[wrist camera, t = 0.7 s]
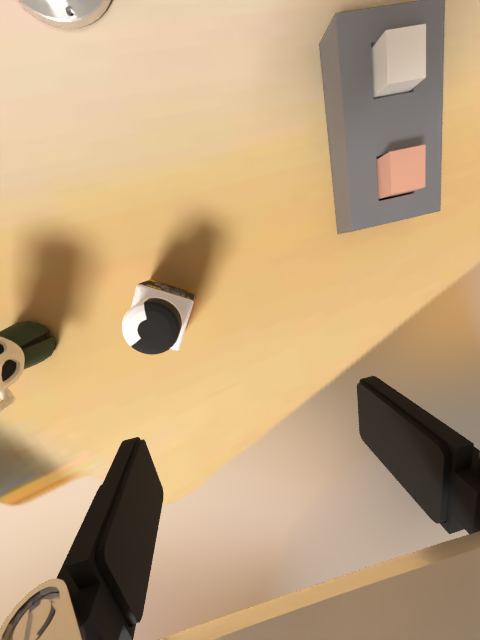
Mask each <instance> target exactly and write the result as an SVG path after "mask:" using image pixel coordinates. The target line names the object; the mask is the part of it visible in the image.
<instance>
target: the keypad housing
mask: <svg viewBox="0 0 480 640" xmlns="http://www.w3.org/2000/svg"><path fill="white" fill-rule="evenodd" d="M444 15H445V0H420V1H413V2H407V3H400V4H393V5H387V6H380V7H373V8H367V9H360V10H354V11H347V12H340V13H335V15H334V17H333V19H332V21H331V23H330V25H329V27H328V29H327V30H326V32H325V34H324V36H323V38H322V40H321V42H320V44H319V47H320V57H321V68H322V78H323V88H324V99H325V109H326V119H327V130H328V140H329V150H330V161H331V171H332V182H333V192H334V202H335V213H336V223H337V233H338V234H341V233H347V232H352V231H356V230H361V229H365V228H369V227H373V226H378V225H382V224H386V223H391V222H395V221H399V220H403V219H408V218H412V217H416V216H420V215H425V214H429V213H433V212H438V211H440V205H441V158H442V110H443V62H444ZM421 24H426V78H425V79H423V80H422V81H421V82H420V83H418V84H417V85H416V86H415V87H414V88H412V89H411V90H410V91H409V92H408V93H404V94H398V95H393V96H387V97H382V98H377V99H374V95H373V74H372V53H371V48H372V47H373V46H374V45H375V43H376V42H377V41H378V39H379V38H380V37H381V36H382V34H383V33H384V32H385V31H386V30H390V29H396V28H402V27H408V26H415V25H421ZM425 144H426V158H425V187H424V188H421V189H418V190H415V191H412V192H409V193H405V194H401V195H396V196H393V198H391V199H386V200H382V201H379V199H378V178H377V159H378V158H380V157H382V156H383V155H385V154H387V153H389V152H391V151H396V150H401V149H406V148H410V147H415V146H420V145H425Z"/></svg>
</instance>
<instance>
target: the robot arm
mask: <svg viewBox="0 0 480 640" xmlns="http://www.w3.org/2000/svg"><path fill="white" fill-rule="evenodd" d="M16 1H17V2H18V3H19V4H20V5H21V6H22V7H23V8H24V9H26V10H27V11H28V12H29V13H31V14H32V15H33V16H35V17H36V18H38V19H40V20H42V21H43V22H45V23H48V24H50V25H53V26H56V27H61V28H67V29H72V28H81V27H84V26H87V25H90V24H91V23H93V22H94V21H96V20H97V19H99V18H100V16H101V15H102V14H103V13H104V12H105V11H106V9H107V7H108V5H109V4H110V2H111V0H16ZM357 396H358V413H359V431H360V436H361V438H362V440H363V441H364V442H365V444H366V445H367V446H368V447H369V448H370V449H371V450H372V452H373V453H374V454H375V455H376V456H377V457H378V459H379V460H380V461H381V462H382V463H383V464H384V465H385V467H386V468H387V469H388V470H389V471H390V472H391V473H392V475H393V476H394V477H395V478H396V479H397V480H398V481H399V483H400V484H401V485H402V486H403V487H404V488H405V489H406V491H407V492H408V493H409V494H410V495H411V496H412V498H413V499H414V500H415V501H416V502H417V503H418V504H419V506H420V507H421V508H422V509H423V510H424V511H425V512H426V514H427V515H428V516H429V517H430V518H431V519H432V520H433V521H434V522H435V523H440V524H441V525H442V526H443V528H444V529H445V530H446V531H447V532H448V533H449V534H451V533H454V532H457V531H460V530H463V529H465V530H466V531H467V532H468V533H469V535H466V536H463V537H460V538H456V539H453V540H450V541H446V542H443V543H440V544H437V545H434V546H431V547H428V548H425V549H422V550H419V551H416V552H413V553H410V554H407V555H404V556H401V557H398V558H395V559H392V560H388V561H385V562H382V563H379V564H376V565H373V566H371V567H368V568H365V569H361V570H358V571H355V572H352V573H350V574H347V575H344V576H341V577H338V578H335V579H332V580H329V581H326V582H323V583H320V584H317V585H314V586H311V587H308V588H305V589H302V590H299V591H296V592H293V593H290V594H287V595H285V596H282V597H279V598H276V599H273V600H270V601H267V602H264V603H261V604H258V605H255V606H252V607H250V608H247V609H244V610H241V611H238V612H235V613H232V614H229V615H226V616H224V617H221V618H218V619H215V620H212V621H209V622H206V623H203V624H201V625H198V626H195V627H192V628H189V629H186V630H184V631H180V632H178V633H175V634H173V635H170V636H167V637H164V638H162V639H159V640H480V451H479V450H478V449H477V448H475V447H474V446H473V445H474V444H473V443H472V442H470V441H469V440H467V439H466V438H465V437H463V436H462V435H460V434H459V433H457V432H456V431H454V430H453V429H451V428H450V427H449V426H447V425H446V424H444V423H443V422H441V421H440V420H438V419H437V418H435V417H434V416H432V415H431V414H430V413H428V412H427V411H425V410H424V409H422V408H421V407H419V406H418V405H416V404H415V403H413V402H412V401H411V400H409V399H408V398H406V397H405V396H403V395H402V394H400V393H399V392H397V391H396V390H395V389H393V388H391V387H390V386H389V385H387V384H385V383H384V382H383V381H381V380H380V379H378V378H377V377H375V376H371V377H367V378H363V379H361V380H360V383H358V384H357ZM162 502H163V488H162V485H161V483H160V480H159V477H158V475H157V472H156V469H155V467H154V464H153V461H152V458H151V456H150V453H149V450H148V448H147V445H146V442H145V440H140V438H139V437H136V438H132V439H128V440H124V441H123V442H122V443H121V445H120V447H119V450H118V452H117V454H116V456H115V458H114V461H113V463H112V465H111V467H110V469H109V471H108V474H107V476H106V478H105V480H104V482H103V484H102V485H101V486H100V487H99V489H98V491H97V493H96V495H95V497H94V499H93V502H92V504H91V506H90V508H89V510H88V512H87V514H86V516H85V519H84V521H83V523H82V525H81V527H80V529H79V531H78V533H77V536H76V538H75V540H74V542H73V544H72V547H71V548H70V551H69V553H68V555H67V557H66V560H65V561H64V564H63V566H62V568H61V570H60V572H59V574H58V576H57V578H56V579H52V580H48V581H46V582H44V583H42V584H40V585H39V586H38V587H36V588H35V589H34V590H32V591H31V592H29V593H28V594H27V595H26V596H25V597H24V598H23V599H22V600H21V601H20V602H19V603H18V604H17V605H16V607H15V608H14V609H13V611H12V612H11V613H10V614H9V616H8V617H7V618H6V620H5V622H4V623H3V625H2V627H1V628H0V640H133V637H134V631H135V626H136V623H138V622H140V620H141V618H142V615H143V610H144V604H145V599H146V592H147V587H148V582H149V576H150V570H151V565H152V559H153V553H154V548H155V542H156V536H157V531H158V525H159V519H160V514H161V508H162Z"/></svg>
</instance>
